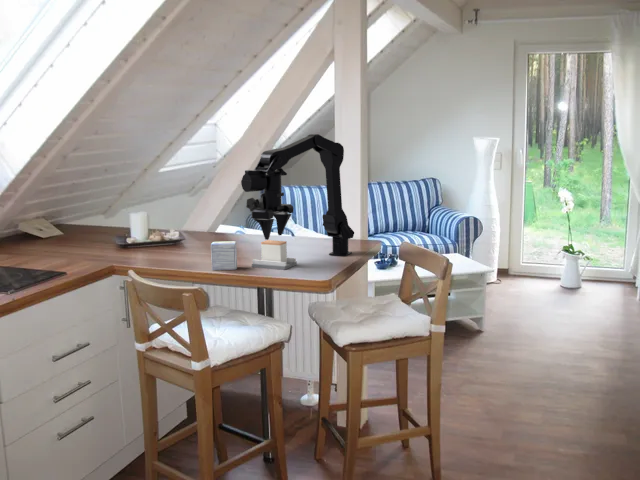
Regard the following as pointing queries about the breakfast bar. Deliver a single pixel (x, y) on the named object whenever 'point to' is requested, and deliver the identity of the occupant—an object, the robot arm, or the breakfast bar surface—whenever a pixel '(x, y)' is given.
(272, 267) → the rail cradle
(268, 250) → the block
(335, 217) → the robot arm
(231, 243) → the medicine box
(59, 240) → the breakfast bar surface
